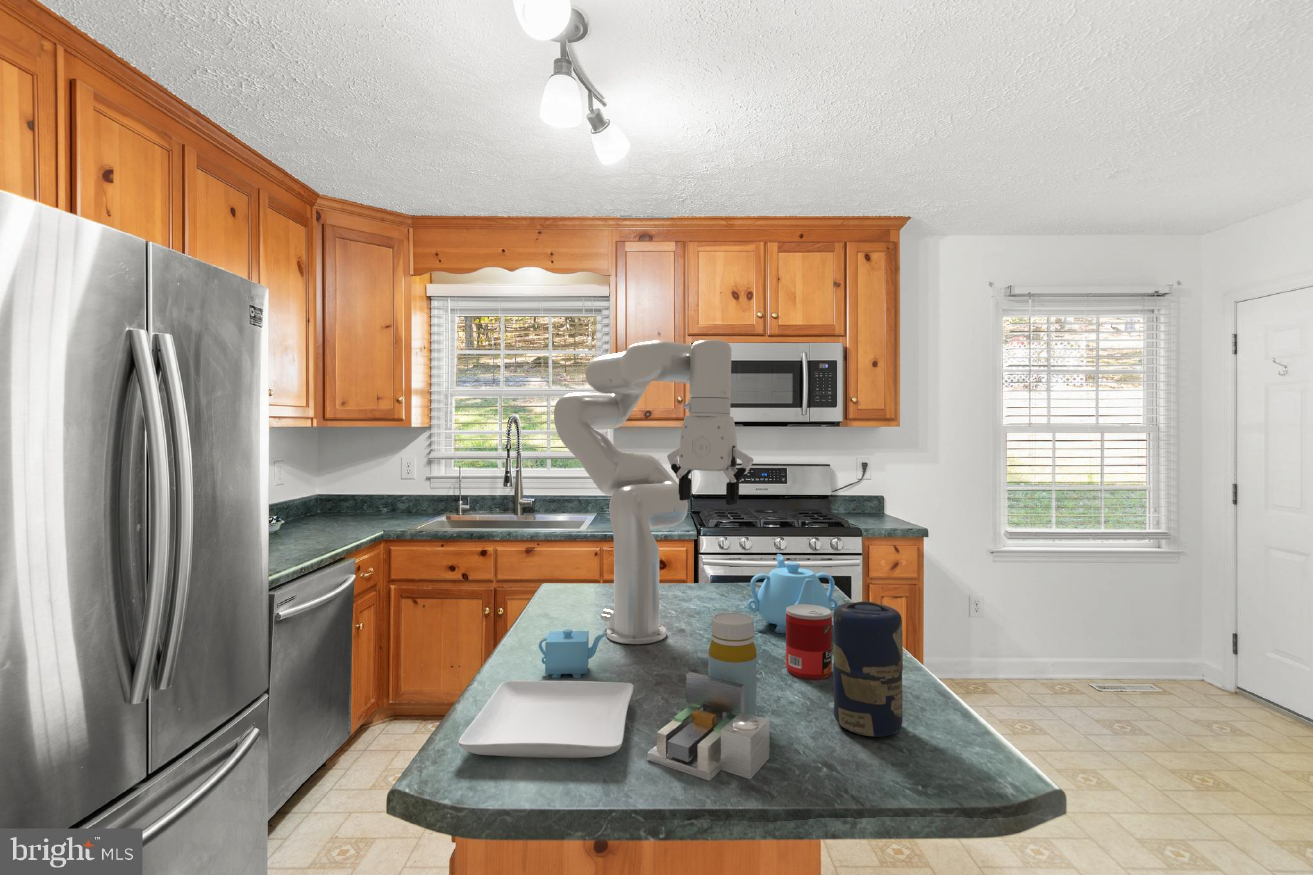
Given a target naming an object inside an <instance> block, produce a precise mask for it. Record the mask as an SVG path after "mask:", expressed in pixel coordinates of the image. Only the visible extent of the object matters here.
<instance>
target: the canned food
mask: <svg viewBox="0 0 1313 875" xmlns="http://www.w3.org/2000/svg"><path fill="white" fill-rule="evenodd" d="M832 612H833V611H831V610H829V609H827V608H825V607H822V606H817V605H808V604H798V605H791V606H789V607H787V608H786V633H785V666H786V671H787V672H788V673H790V674H791V675H793V676H795V677H797V678H802V679H807V680H820V679H826V678H827V677H829V676H831V673H832V670H833V665H832V664H833V615H832V614H833V613H832Z"/></svg>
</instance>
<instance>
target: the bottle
mask: <svg viewBox="0 0 1313 875" xmlns="http://www.w3.org/2000/svg"><path fill="white" fill-rule="evenodd" d="M754 620H755V619H754V617H753V616H751V615H748V614H745V613H739V612H721V613H716V614H714V615H713V616H711V642H710V644H709V646H708V660H707V662H708V665H707V667H708V670H707V672H708V675H707V676H710V677H715V678H719V679H723V680H728V681H732V682H736V683H740V684H745V709H744V713H747V714H751V715H755V716H757V664H758V663H757V661H758V660H757V657H758V656H757V655H758V654H757V648H756V646H755V642H754V640H755V635H754V634H755V621H754ZM728 715H730V714H729V713H726V717H727V716H728Z"/></svg>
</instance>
